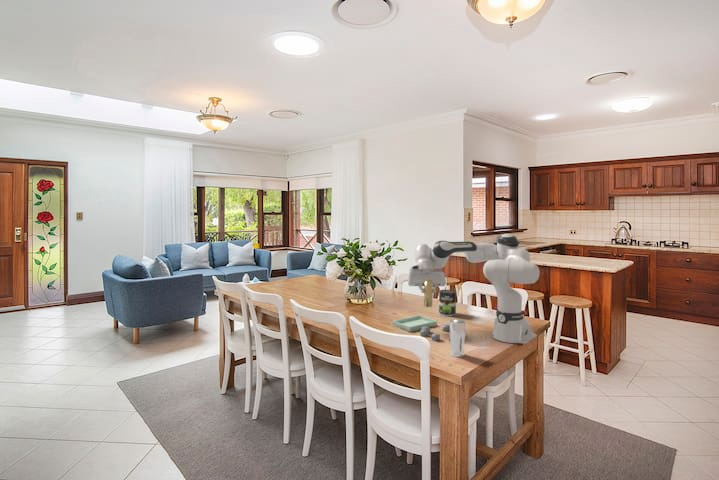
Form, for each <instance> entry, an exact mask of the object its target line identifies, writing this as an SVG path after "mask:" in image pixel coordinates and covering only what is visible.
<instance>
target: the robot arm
mask: <svg viewBox="0 0 719 480" xmlns="http://www.w3.org/2000/svg"><path fill="white" fill-rule="evenodd" d="M496 242H497V245H496V244H495V243H493V242H477V243H474V242H472V241H447V240H438V241H436V242H435V243H434V245H433V249H432V248H431V247H430V246H428V244H426V243H423V244H419V245H418V246H417V247H416V248H415V250H414V256H415V257H414V258H415V262H416V264H415V265H412V266H410V268H409V270H408V277H407V285H408V286H409V287H418V288H419V289H418V290H420V292H421V293H422V294H424V293H425V289H424V288H423V287H424V285H425V281H433V294H436V291H437V290H436V289H437V287H445V285H446V284H447V279H446V277H445V276H446V275H445V272H444V271H442V270H441V269H443V268H444V267H445V266H446V265H447V262H448V261H449V258H450V257H451V256H452V255H453V254H457V253H458V254H461V253H463V255H464V256H465V257H464V258H465V259H466V260H467V261H468V262H469V263H471V264H472V263H473V264H477V263H483V262H485V263H484V264H483V268H482V270H483V272H482V273H483V275H484V277H485V278H486V279H487V280H488V281H489V282H490V283H491V284H492V286H493V288H494V289H495V292H496V296H497V297H496V298H497V308H496V312H495V313H496V315H495V316H496V317H495V319H494V323H493V330H492V331H491V335H492V337H493V338H494V339H495V340H496V341H499V342H503V343H508V344H509V343H510V344H525V345H526V344H528V343H529V342H531V341H533V340H535V339H536V338H538V336H537V334H536V333H534V332H532V324H531V323H530V322H528V321H527V320H526V319H525V318H524V316H527V314H528V313H527V311H526V310H523V308H522V307H523V306H522V304H523V298H522V295H521V294H520V292H519V291H517V290H516V289H514V288H512V286H511V285H510V284H519V285H529V284H530V285H531V284H535V283H536V282H538V280H539V277H540V268H539V266H538V265H537V264H536V263H534V262H531V254H530V252H529V251H528V250H527V249H525V248H523V247H521V248H520V246H519V244H520V243H521V242H519V241H518V238H517V237H516V236H515V235H514V234H511V233H504V234H503V233H502V234H500V235H499V236H498V237H497V240H496Z"/></svg>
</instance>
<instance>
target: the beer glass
mask: <svg viewBox="0 0 719 480" xmlns="http://www.w3.org/2000/svg"><path fill="white" fill-rule="evenodd" d="M449 325H450V327H449V332H448V334H449V335H450V341H451V342H450V341H449V342H450V352H449V355H450V356H451V357H455V358H462V357H464V356H465V350H464V345H465V339H466V332H467V329H466V321H465V320H463V319H461V318H460V319H457V318H453V319H450V320H449Z"/></svg>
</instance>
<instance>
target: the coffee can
mask: <svg viewBox="0 0 719 480" xmlns="http://www.w3.org/2000/svg"><path fill="white" fill-rule="evenodd" d="M438 296H439V297H438V315H440V314H441V315H440V316H443V315H444V316H443V317H454V316H453V315H455V316H456V315H457V313H456V311H457V310H456V309H457V308H456V307H457V291H456V290H453V289H439V290H438Z"/></svg>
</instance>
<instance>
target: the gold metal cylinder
mask: <svg viewBox="0 0 719 480" xmlns="http://www.w3.org/2000/svg"><path fill="white" fill-rule="evenodd" d="M423 287H424V288H423V289H425V293H423V307H425V308H431V307H432V306H433V296H434V295H433V294H434V293H433V289H434V287H433V281H425V285H424V286H423Z"/></svg>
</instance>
